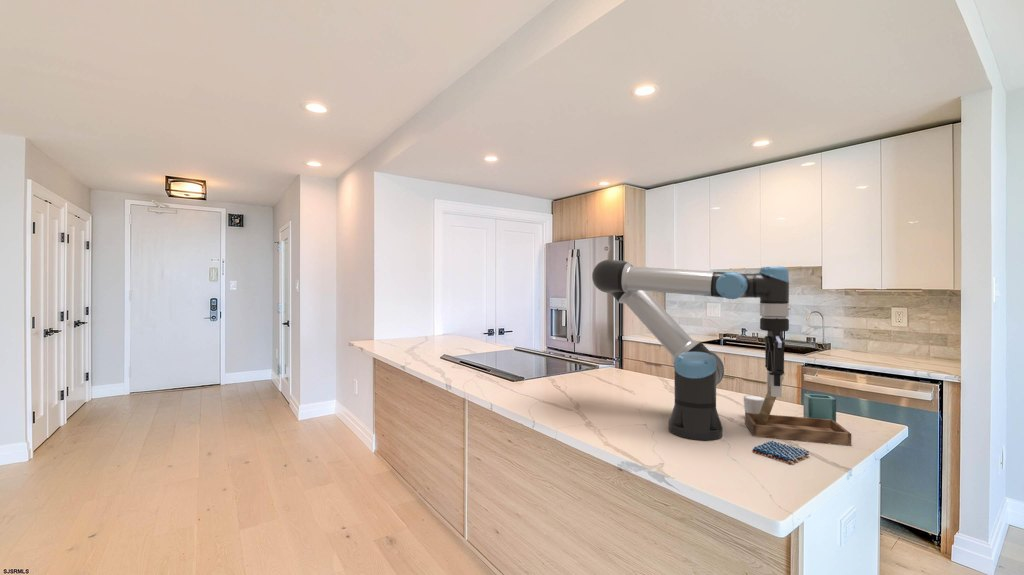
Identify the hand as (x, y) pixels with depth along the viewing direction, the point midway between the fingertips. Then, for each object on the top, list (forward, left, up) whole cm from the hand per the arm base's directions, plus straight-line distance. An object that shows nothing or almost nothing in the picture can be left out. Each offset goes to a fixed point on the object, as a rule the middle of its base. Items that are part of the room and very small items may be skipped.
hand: (774, 394), depth 133 cm
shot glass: (-3, +13, -11) cm, 18 cm away
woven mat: (-3, -20, -12) cm, 23 cm away
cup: (+15, +12, -11) cm, 22 cm away
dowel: (-1, 0, -1) cm, 2 cm away
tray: (+5, 0, -11) cm, 12 cm away
